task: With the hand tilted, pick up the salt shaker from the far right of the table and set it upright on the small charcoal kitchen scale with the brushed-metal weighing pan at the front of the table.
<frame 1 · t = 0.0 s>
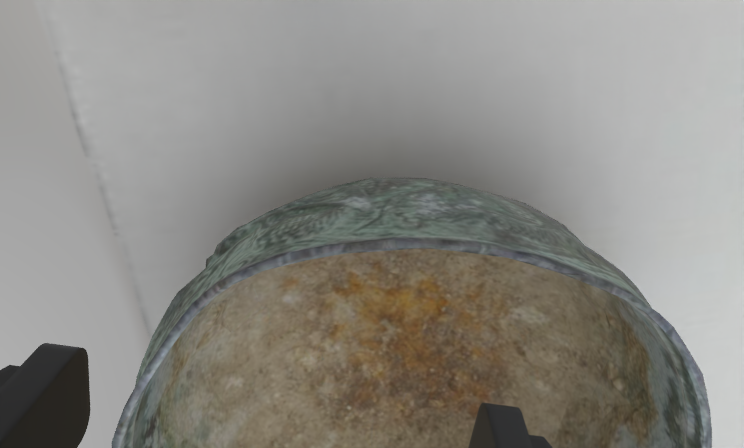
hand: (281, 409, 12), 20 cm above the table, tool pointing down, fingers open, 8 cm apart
bowl: (397, 286, 33), on the table
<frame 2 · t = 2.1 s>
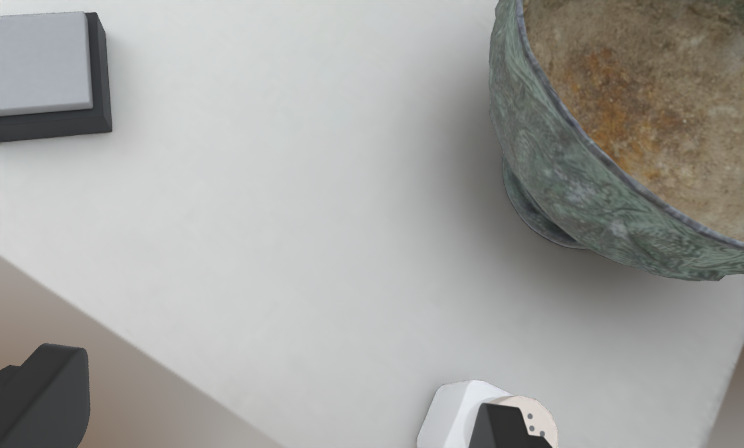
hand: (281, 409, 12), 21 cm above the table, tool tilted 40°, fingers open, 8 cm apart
bowl: (574, 170, 40), on the table
kitchen scale: (47, 85, 36), on the table
salt shaker: (455, 429, 34), on the table
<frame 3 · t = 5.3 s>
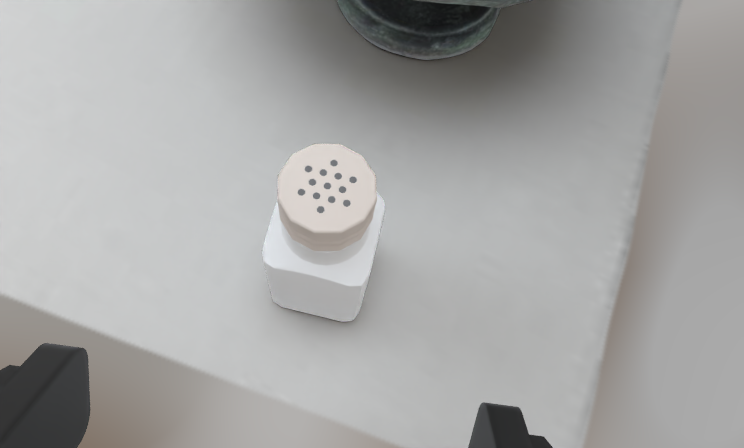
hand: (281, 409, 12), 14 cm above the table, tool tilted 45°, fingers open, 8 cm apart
salt shaker: (323, 277, 28), on the table
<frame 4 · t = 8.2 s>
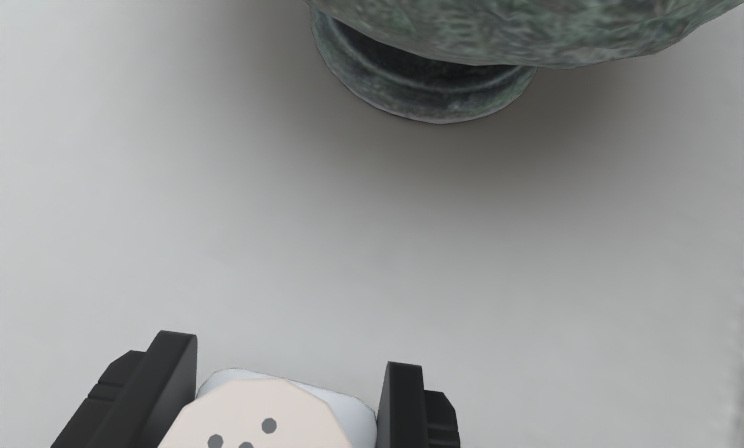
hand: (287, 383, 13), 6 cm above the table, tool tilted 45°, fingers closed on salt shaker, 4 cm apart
bowl: (433, 13, 25), on the table
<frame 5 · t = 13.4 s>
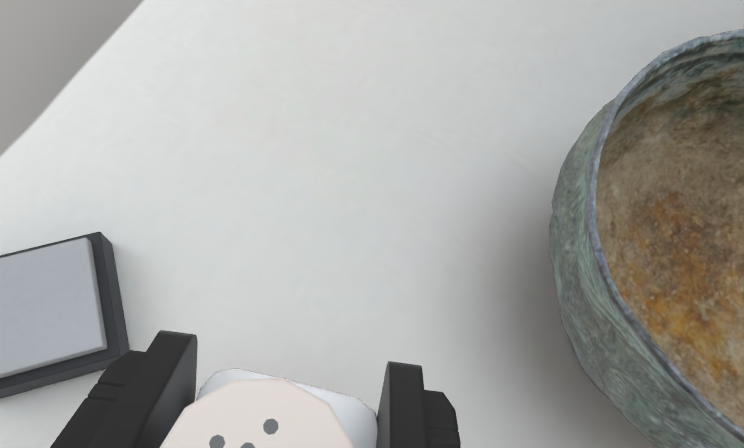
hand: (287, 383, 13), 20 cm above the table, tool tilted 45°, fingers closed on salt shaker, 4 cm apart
bowl: (649, 318, 35), on the table
kitchen scale: (55, 317, 32), on the table
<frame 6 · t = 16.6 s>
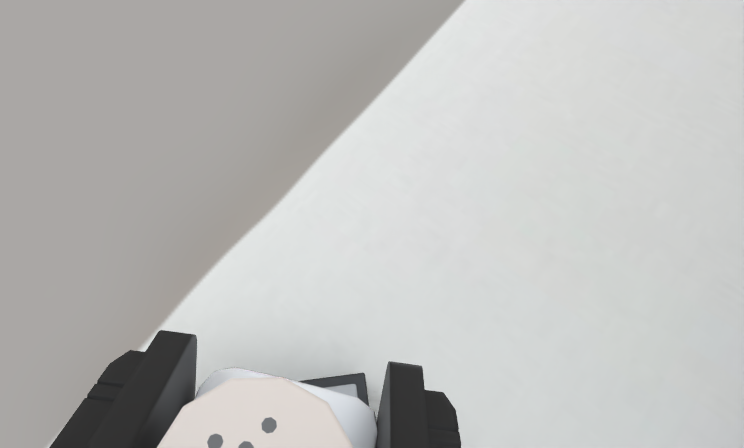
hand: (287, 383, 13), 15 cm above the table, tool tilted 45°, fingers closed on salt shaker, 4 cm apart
when the fingers open (9 cm above the table, at t = 18.8 s): salt shaker stays where it is, resting on kitchen scale.
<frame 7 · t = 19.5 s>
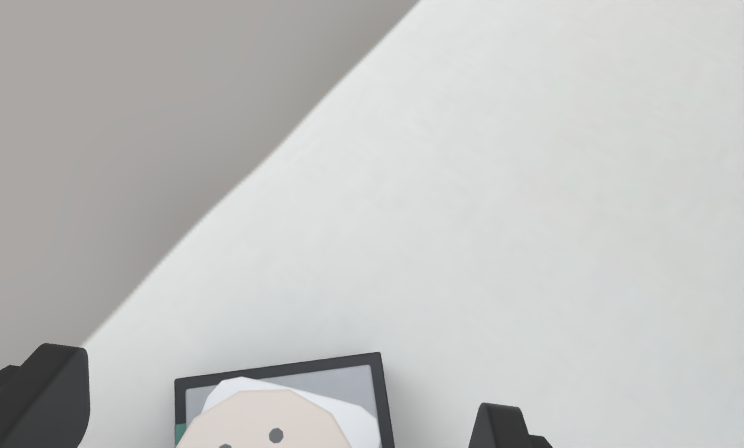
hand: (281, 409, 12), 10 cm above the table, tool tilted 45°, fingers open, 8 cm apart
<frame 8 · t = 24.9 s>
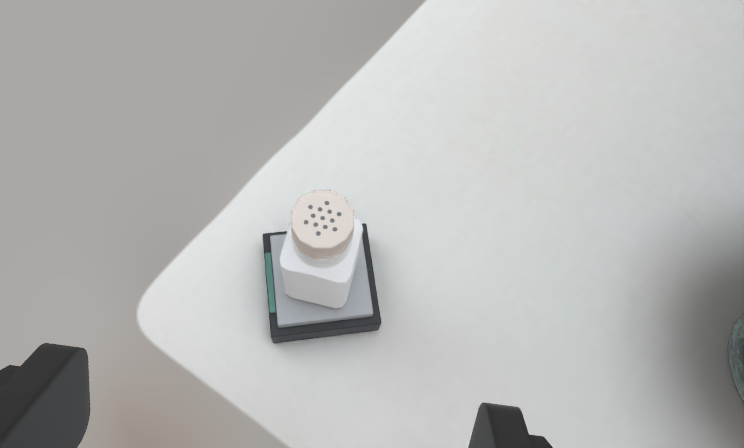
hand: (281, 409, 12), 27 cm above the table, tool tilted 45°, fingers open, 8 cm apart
kitchen scale: (320, 286, 41), on the table
salt shaker: (321, 276, 38), point 3 cm above the table, touching kitchen scale
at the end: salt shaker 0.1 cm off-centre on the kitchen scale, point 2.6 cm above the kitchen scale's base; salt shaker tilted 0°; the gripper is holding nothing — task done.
